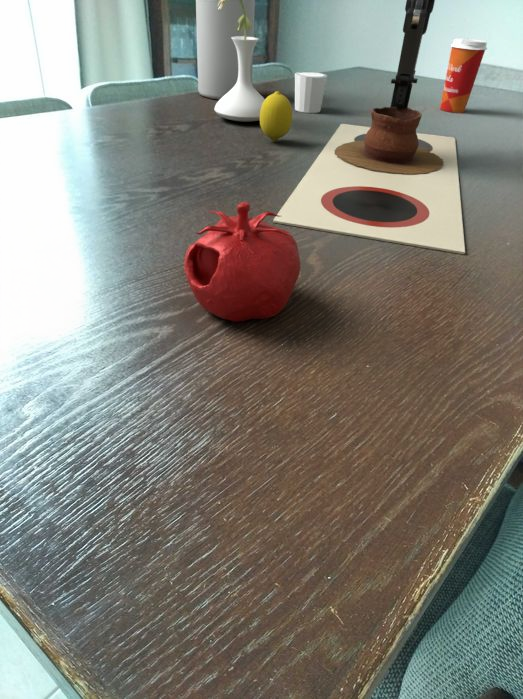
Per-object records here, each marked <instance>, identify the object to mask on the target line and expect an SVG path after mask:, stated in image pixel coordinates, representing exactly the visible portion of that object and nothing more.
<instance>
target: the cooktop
mask: <svg viewBox="0 0 523 699" xmlns="http://www.w3.org/2000/svg"><path fill="white" fill-rule="evenodd" d="M370 127H371V126H363V125H354V124H347V123H340V125H339V126H338V128H337V129H336V130H335V132H334V133H333V135H332V136H331V137H330V139H329V140H328V141H327V143H326V145H325V146H324V147H323V149H321V151H320V153H319V155H318V156H317V157H316V159H315V160H314V161H313V163H312V165H310V167H309V169H308V170H307V172H306V173H305V175H304V176H303V177H302V179H301V180H300V181H299V183H298V184H297V186H296V187H295V189H294V190H293V191H292V193H291V194H290V195H289V197H288V198H287V200H286V201H285V203H284V204H283V205H282V206H281V208H280V210H279V211H278V212H277V214H276V215H279V216H280V217H278V216H274V218H273V220H272V223H274V224H278V225H285V226H289V227H290V226H291V227H297V228H302V229H308V230H314V231H315V230H316V231H321V232H325V233H326V232H327V233H334V234H338V235H345V236H349V237H350V236H351V237H357V238H363V239H368V240H369V239H370V240H376V241H381V242H387V243H393V244H399V245H405V246H411V247H417V248H423V249H430V250H434V251H435V250H436V251H441V252H447V253H454V254H458V255H465V254H466V246H465V236H464V234H465V233H464V223H463V213H462V212H463V211H462V201H461V190H460V189H461V188H460V180H459V179H460V178H459V167H458V156H457V145H456V137H454V136H452V137H451V136H443V135H435V134H429V133H428V134H427V133H422V132H421V133H419V132H416V134H417V137H418V142H419V144H418V147H421V148H424V149H428V150H429V151H430V153H434V154H436V155H437V156H439V157H440V158H441V159H443V160H442V161H444V162H443V165H444V166H442V167H441V168H440V169H439V168H438V169H437V170H434V171H430V172H429V173H417V174H401V173H390V172H385V171H382V172H381V171H377V170H371V169H368V168H364V167H361V166H356V165H354V164H352V163H350V162H346V161H344V160H342V159H341V158H340V157H337V155H336V154H335V151H334V150H336V148H337V147H338V146H341V145H342V144H345V143H350V142H356V141H363V140H365V136H366V134H367V132H368V130H369V129H370ZM353 186H363V187H376V188H383V189H388V190H393V191H397V192H400V193H403V194H406V195H409V196H411V197H413V198H415V199H417V200H419V201H421V202H422V203H423V204H424V205H426V207H427V208H428V210H429V213H430V214H429V217H428V218H427V219H426V220H425V221H424V222H422V223H419V224H417V225H413V226H407V227H395V228H389V227H375V226H368V225H362V224H358V223H354V222H351V221H347V220H344V219H342V218H339V217H337V216H335V215H333V214H332V213H330V212H329V211H327V210H326V209H325V208H324V207H323V205H322V203H321V198H322V196H323V195H324V194H325V193H327V192H329V191H331V190H334V189H337V188H343V187H353Z"/></svg>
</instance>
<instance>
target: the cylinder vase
mask: <svg viewBox="0 0 523 699" xmlns="http://www.w3.org/2000/svg"><path fill="white" fill-rule="evenodd" d="M219 2H220V0H195V15H196V16H195V18H196V19H195V20H196V21H195V22H196V23H195V24H196V57H197V58H196V59H197V60H196V61H197V63H196V64H197V91H198V94H199V95H200V96H202V97H204V98H207V99H212V100H217V101H219V100H220V99H221V98H222V97H223V96H224V95H225V94H227V93H228V92H229V91H230V90H231V89H232V88H233V87H234V86H235V85H236V83H237V80H238V71H239V68H238V54H237V49H236V46H235V44H234V42H233V40H232V38H231V37H236V36H243V37H244V29H243V28H241V30H240V31H239V32H237V29H238V27H239V23H238V20H239V18H240V17H241V16H242V15H243V9H242V6H241V3H240V0H227V1H226V3H225V5H224V6H223V8H222V9H221V10H220V9H219V10H218V8H219V7H220V5H221V4H220V5H219V6H218V4H219ZM242 2H243V6H244V9H245V14H246V16H247V18H248V20H249V21H250V23H251V25H252V27H251V28H250V29H248V30H246V37H254V38H255V36H254V34H255V8H256V0H242ZM253 64H254V52H253V53H252V57H251V65H250V79H251V83H252V84H253V70H254V69H253V67H254V65H253Z"/></svg>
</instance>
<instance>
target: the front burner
mask: <svg viewBox="0 0 523 699" xmlns="http://www.w3.org/2000/svg"><path fill="white" fill-rule="evenodd" d="M321 203H322V205H323V207H324V208H325V209H326V210H327V211H329V212H330V213H332V214H333V215H335V216H337V217H339V218H342V219H344V220H347V221H351V222H354V223H358V224H362V225H368V226H375V227H389V228H395V227H407V226H413V225H417V224H419V223H422V222H424V221H425V220H426V219H427V218H428V217H429V214H430V213H429V210H428V208H427V207H426V205H424V204H423V203H422V202H421V201H419V200H417V199H415V198H413V197H411V196H409V195H406V194H403V193H400V192H397V191H393V190H388V189H383V188H376V187H363V186H353V187H343V188H337V189H334V190H331V191H329V192H327V193H325V194H324V195H323V196H322V198H321Z"/></svg>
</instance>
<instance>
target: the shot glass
mask: <svg viewBox="0 0 523 699" xmlns="http://www.w3.org/2000/svg"><path fill="white" fill-rule="evenodd" d="M327 79H328V75H327V74H326V73H321V72H317V71H297V72H295V73H294V110H295V111H297V112H299V113H305V114H316V113H320V112H321V109H322V104H323V100H324V95H325V89H326V85H327Z"/></svg>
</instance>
